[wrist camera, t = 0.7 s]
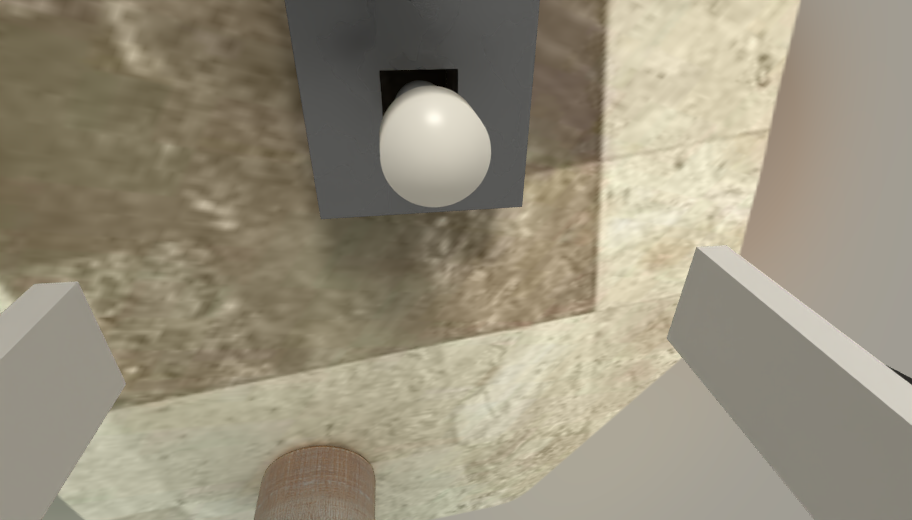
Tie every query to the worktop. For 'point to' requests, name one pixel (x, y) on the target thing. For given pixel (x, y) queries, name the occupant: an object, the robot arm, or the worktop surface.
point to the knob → (433, 145)
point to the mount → (410, 48)
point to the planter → (317, 486)
